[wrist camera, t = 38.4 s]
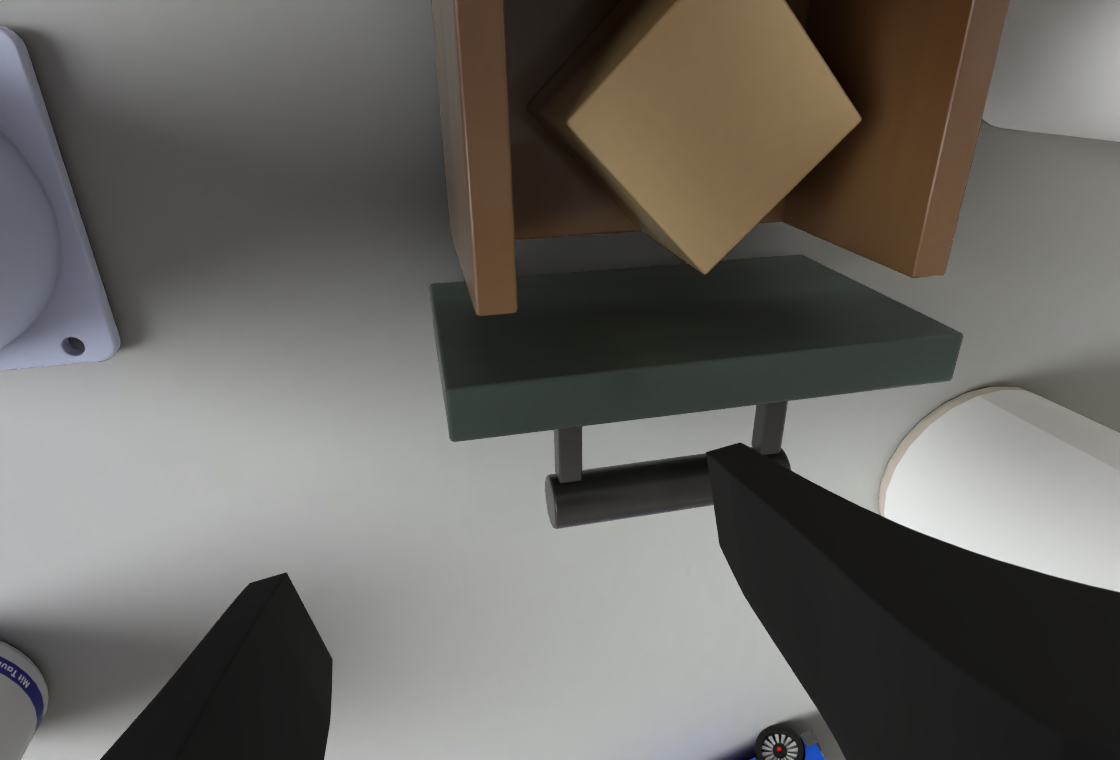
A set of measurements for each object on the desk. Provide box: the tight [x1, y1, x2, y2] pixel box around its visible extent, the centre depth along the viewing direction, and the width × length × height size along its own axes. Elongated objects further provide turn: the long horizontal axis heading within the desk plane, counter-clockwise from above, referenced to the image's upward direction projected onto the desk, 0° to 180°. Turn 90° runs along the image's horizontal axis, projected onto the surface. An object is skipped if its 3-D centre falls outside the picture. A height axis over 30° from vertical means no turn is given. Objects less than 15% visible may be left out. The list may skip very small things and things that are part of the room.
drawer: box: [429, 0, 1011, 529], centre depth 16 cm, size 17×11×7 cm
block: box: [527, 0, 862, 274], centre depth 15 cm, size 4×4×4 cm
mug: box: [878, 387, 1120, 592], centre depth 23 cm, size 11×9×10 cm
